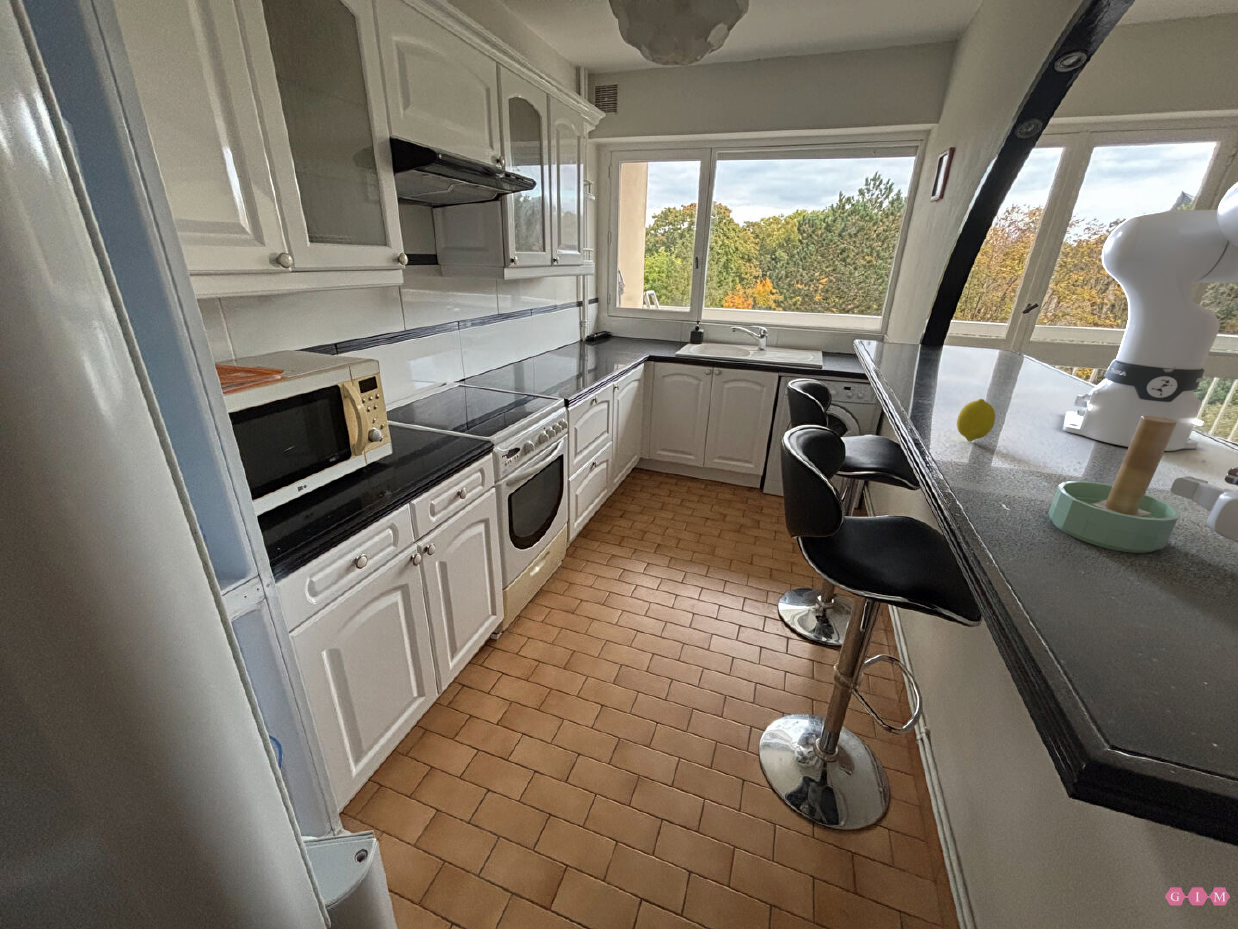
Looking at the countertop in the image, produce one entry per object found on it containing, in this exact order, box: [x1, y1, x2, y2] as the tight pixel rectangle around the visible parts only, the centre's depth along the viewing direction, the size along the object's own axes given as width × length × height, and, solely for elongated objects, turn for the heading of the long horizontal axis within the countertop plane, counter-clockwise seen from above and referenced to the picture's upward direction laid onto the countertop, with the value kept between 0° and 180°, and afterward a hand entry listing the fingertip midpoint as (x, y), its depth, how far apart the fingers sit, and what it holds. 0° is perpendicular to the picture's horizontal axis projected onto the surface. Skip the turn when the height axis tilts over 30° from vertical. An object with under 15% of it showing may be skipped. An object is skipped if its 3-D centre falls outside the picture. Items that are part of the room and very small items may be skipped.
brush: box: [1091, 416, 1177, 518], centre depth 58 cm, size 4×4×14 cm
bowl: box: [1047, 480, 1181, 554], centre depth 61 cm, size 11×11×4 cm
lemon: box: [956, 398, 996, 442], centre depth 92 cm, size 6×6×8 cm
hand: (1204, 478), depth 53 cm, fingers open, 8 cm apart
